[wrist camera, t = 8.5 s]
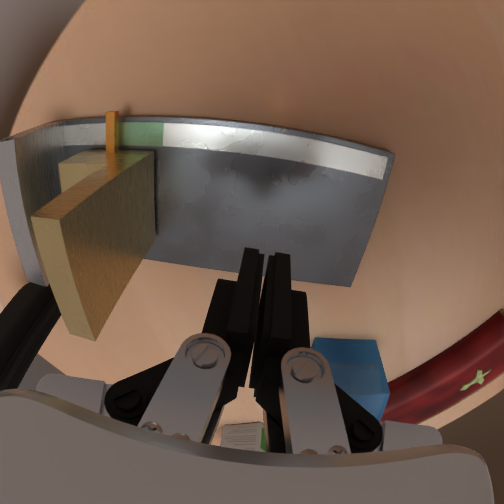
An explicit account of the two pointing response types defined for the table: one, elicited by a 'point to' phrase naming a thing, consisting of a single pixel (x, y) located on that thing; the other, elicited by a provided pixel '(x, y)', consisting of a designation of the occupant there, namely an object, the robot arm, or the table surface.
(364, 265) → the table surface
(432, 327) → the table surface
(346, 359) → the perfume bottle
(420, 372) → the hardcover book
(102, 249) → the gauge carriage
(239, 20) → the table surface
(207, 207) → the gauge base
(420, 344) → the table surface
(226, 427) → the skincare box
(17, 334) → the carrying case or bag
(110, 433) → the robot arm
